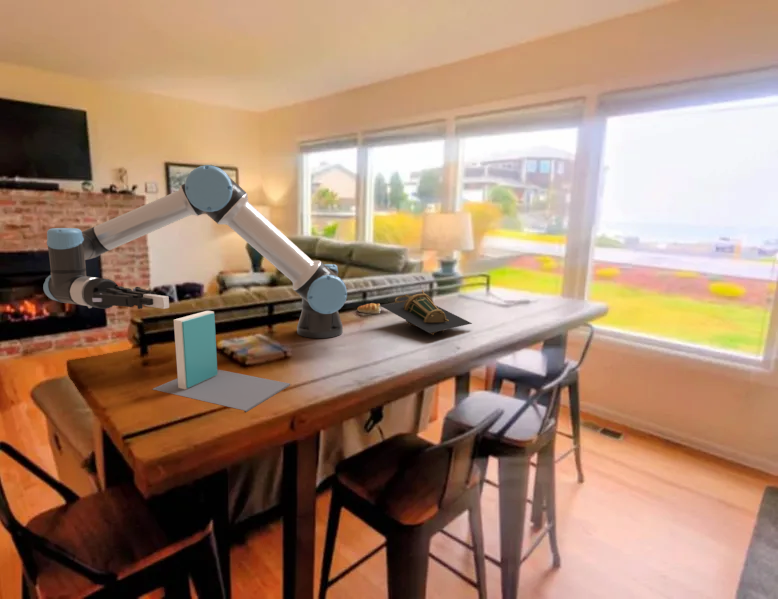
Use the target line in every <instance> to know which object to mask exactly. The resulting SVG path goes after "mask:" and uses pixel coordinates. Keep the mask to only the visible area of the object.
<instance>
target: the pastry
mask: <svg viewBox="0 0 778 599" xmlns="http://www.w3.org/2000/svg"><path fill="white" fill-rule="evenodd" d="M380 305H381V304H380V303H374V302H371V303H366V304H363V305H359V306H358V307H357V308H356V309H357V312H359V313H363V314H372V315H379V314H381V310H382V309H381V306H380Z"/></svg>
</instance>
